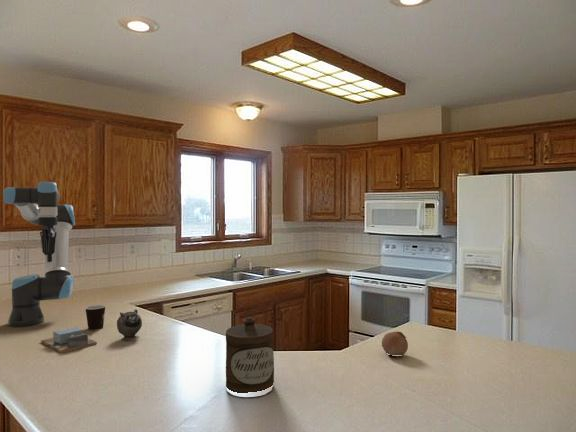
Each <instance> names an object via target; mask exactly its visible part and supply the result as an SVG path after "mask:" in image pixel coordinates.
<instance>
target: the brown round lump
mask: <svg viewBox="0 0 576 432" xmlns="http://www.w3.org/2000/svg"><path fill="white" fill-rule="evenodd" d="M381 347H382V348H383V350H384V352H385V354H386V353H388V354H390V355H405V354H406V353H407V351H408V348H409V343H408V340H407V336H405V334H404V333H403V332H402V331H393V332H391V331H390V332H387V333H385V335H384V336H383V338H382V340H381Z"/></svg>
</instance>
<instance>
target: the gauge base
mask: <svg viewBox="0 0 576 432" xmlns="http://www.w3.org/2000/svg"><path fill="white" fill-rule="evenodd" d="M40 343H41V344H43V345H45V346H47V347H49V348H51V349H52V350H54V351H56V352H58V353H59V354H63V353H68V352H71V351H74V350H79V349H83V348H88V347H92V346H96V345H97V344H98V343H97V341H96V340H93V339H91V338H89V334H88V333H86V332H85V333H84V332H83V334H80V335H75V336H71V337H68V343H64V344H55V345H54V343H56V342H54V341H53V336H52V337H49V338H43V339H41V340H40Z"/></svg>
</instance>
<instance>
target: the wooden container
mask: <svg viewBox="0 0 576 432" xmlns="http://www.w3.org/2000/svg"><path fill="white" fill-rule="evenodd" d="M225 341H226V342H225V351H226V352H225V388H226V387H227V388H228V389H229V390H231V391H233V392H237V393H248V392H257V391H262V390H265V389H267V388H269V387H271V386H272V385H273V383H274V384H275V362H274V361H275V357H274V356H275V355H274V330H273V328H272V327H271V326H269V325H265V324H261V323H256V321H255V318H253V317H251V316H248V317H247V316H246V318H244V319H243V324H238V325H237V324H236V325H233V326H231V327H229V328H227V329H226V331H225Z"/></svg>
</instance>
